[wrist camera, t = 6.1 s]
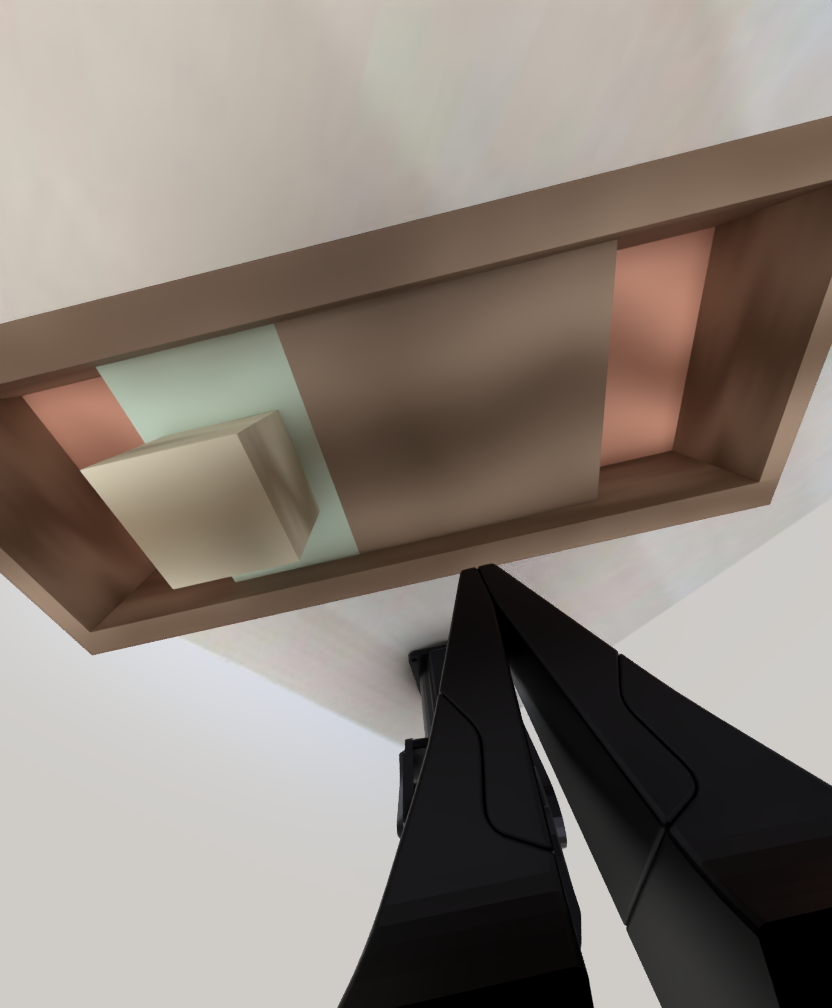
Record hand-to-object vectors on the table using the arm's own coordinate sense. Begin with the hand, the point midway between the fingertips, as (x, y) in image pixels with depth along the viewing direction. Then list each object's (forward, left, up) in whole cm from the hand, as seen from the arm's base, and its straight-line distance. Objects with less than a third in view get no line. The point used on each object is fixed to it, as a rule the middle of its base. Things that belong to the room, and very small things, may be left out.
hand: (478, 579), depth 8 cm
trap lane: (+2, +2, -12) cm, 12 cm away
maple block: (+2, +8, -8) cm, 12 cm away
